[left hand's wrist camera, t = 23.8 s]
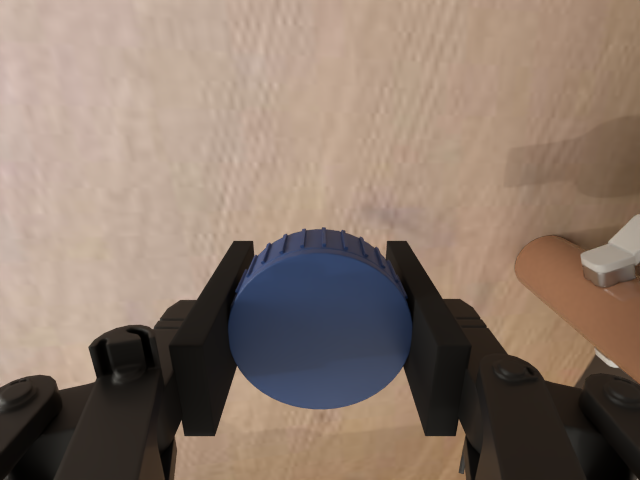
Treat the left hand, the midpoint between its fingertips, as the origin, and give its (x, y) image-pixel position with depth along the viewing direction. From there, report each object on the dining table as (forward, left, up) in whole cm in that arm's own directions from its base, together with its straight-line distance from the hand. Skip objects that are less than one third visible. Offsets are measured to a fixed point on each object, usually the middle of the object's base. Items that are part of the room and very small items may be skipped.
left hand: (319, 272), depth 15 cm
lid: (0, 0, +4) cm, 4 cm away
